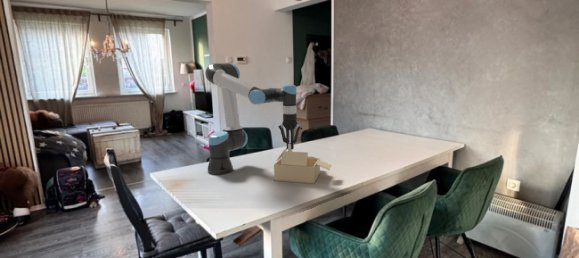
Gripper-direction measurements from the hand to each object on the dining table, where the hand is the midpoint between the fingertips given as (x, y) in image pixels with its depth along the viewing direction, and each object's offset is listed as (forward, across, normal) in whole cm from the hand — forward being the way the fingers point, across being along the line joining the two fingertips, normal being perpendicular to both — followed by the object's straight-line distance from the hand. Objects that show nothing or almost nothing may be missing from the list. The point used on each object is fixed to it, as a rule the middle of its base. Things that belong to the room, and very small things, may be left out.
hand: (290, 154), depth 176 cm
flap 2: (0, +4, -7) cm, 8 cm away
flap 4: (+4, +19, 0) cm, 20 cm away
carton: (+13, +4, 0) cm, 13 cm away
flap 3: (+4, +4, +13) cm, 14 cm away
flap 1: (0, -5, 0) cm, 5 cm away
